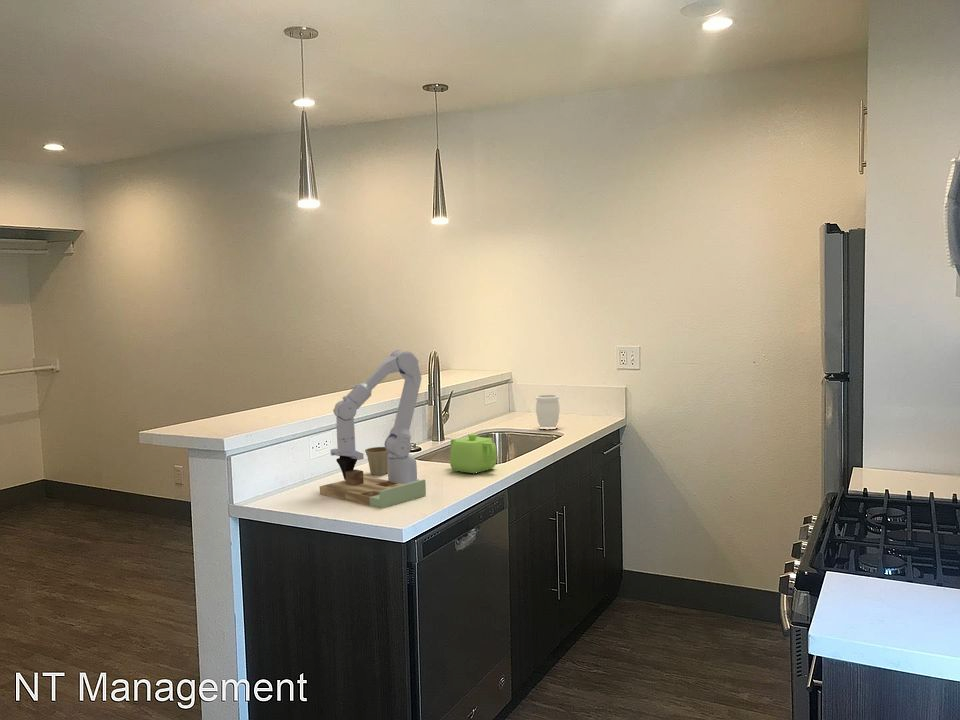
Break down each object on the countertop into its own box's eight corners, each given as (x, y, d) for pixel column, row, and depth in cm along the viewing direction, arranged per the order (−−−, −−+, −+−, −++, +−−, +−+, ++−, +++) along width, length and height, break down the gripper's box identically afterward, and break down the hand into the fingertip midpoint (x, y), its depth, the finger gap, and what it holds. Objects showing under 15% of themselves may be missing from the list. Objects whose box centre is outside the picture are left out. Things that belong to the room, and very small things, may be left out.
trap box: (363, 483, 272) (362, 468, 272) (426, 495, 252) (425, 479, 252) (319, 494, 259) (319, 478, 258) (382, 508, 239) (381, 491, 238)
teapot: (472, 462, 301) (471, 427, 300) (515, 467, 288) (514, 431, 287) (438, 471, 287) (437, 434, 286) (482, 478, 274) (481, 439, 273)
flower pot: (375, 477, 280) (373, 453, 279) (360, 473, 287) (359, 449, 286) (397, 473, 286) (396, 449, 285) (383, 469, 293) (382, 445, 292)
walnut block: (355, 481, 264) (355, 469, 263) (363, 483, 261) (363, 470, 261) (345, 483, 261) (345, 471, 260) (353, 485, 258) (353, 473, 258)
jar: (563, 428, 369) (563, 395, 368) (553, 431, 360) (552, 398, 359) (543, 426, 375) (542, 394, 373) (532, 430, 366) (531, 397, 365)
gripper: (322, 437, 264) (324, 478, 265) (350, 442, 254) (352, 484, 255) (339, 434, 269) (341, 474, 270) (367, 438, 259) (369, 480, 260)
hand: (347, 479), depth 263 cm, fingers closed
